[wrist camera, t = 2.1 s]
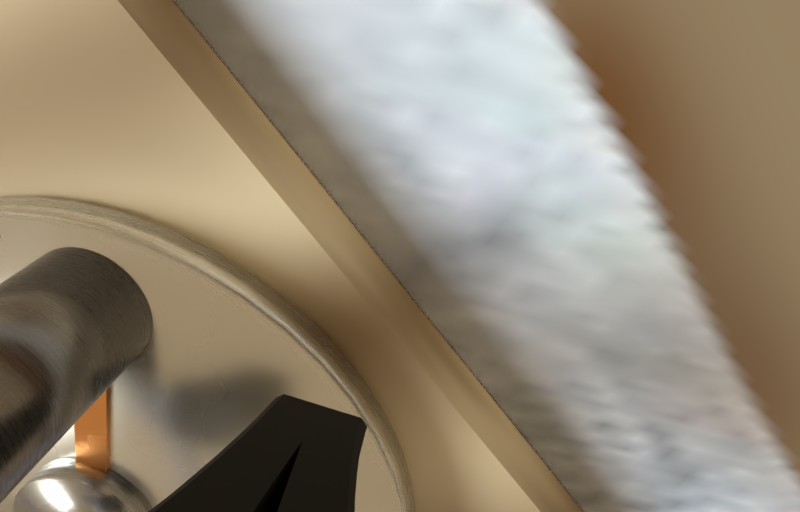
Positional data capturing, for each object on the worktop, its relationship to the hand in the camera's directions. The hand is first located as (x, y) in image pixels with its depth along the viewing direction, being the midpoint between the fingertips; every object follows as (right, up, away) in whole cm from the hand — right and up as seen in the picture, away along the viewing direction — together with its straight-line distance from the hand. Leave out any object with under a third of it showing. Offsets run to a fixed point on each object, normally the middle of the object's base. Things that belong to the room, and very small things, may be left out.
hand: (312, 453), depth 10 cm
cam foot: (-5, -2, +5) cm, 8 cm away
